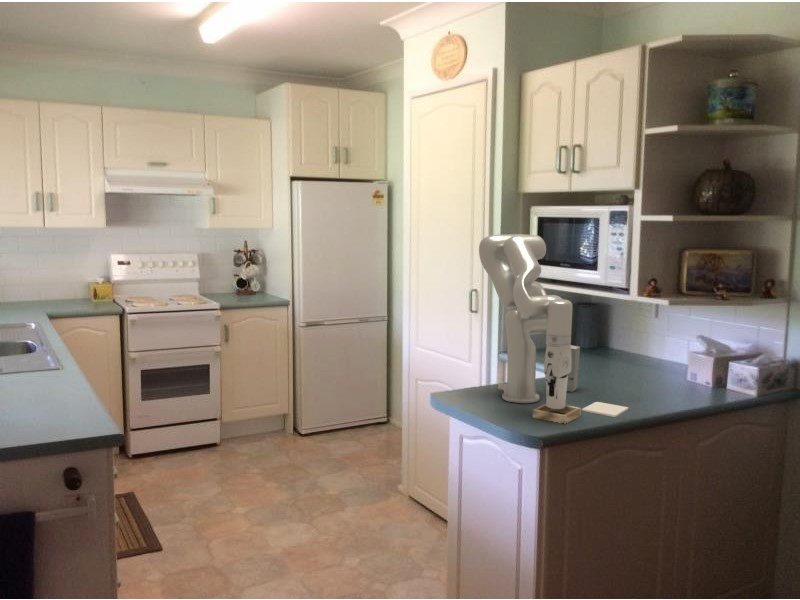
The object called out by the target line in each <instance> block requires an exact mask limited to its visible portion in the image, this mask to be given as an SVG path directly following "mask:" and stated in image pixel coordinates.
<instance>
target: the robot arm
mask: <svg viewBox="0 0 800 600" xmlns="http://www.w3.org/2000/svg"><path fill="white" fill-rule="evenodd" d="M478 247H479V248H478V254H479V255H478V256H479V260H480V263H481V265H482V267H483V269H484V270H485V272H486V274H487V275H488V276H489V278H490V280H491V282H492V284H493V288H494V289H495V291H496V294H497V296H498V299H499V301H500V303H501V305H502V307H504V309H508V311H507V312H506V314H505V315H504V316H505V317H504V324H505V330H506V338H507V339H506V341H507V362H506V363H507V364H506V365H507V367H506V370H507V372H506V383H504V382H499V383H498V384H497V390H501V391H503V392H502V394H501V395H502V396H501V397H502V399H503V400H505V402H506V401H507V402H509V403H514V404H533V403H536V402H538V401H540V397H541V396H540V395H539V394H538V393H537V392H536V376H537V375H536V371H537V370H536V369H537V363H536V362H537V347H536V345H535V343H534V341H533V340H532V338H531V335H541V334H542V335H543V334H545V344H546V348H545V354H544V363H543V364H544V366H543V372H544V373H543V374H544V381H545V382H546V381H547V385H548V386H549V396H551V397H553V396H554V387H556V380H557V378H565V375H567V374H569V373H570V372H571V365H572V357H571V345H572V344H571V343H572V342H571V341H572V323H573V321H572V320H573V303H572V301H571V300H568V299H563V298H562V297H561V296H559V295H556V294H548V293H547V292H546V290H545V288H544V286H543V285H542V284H541V283H540V282H539V281H536V280H537V279H538V278H539V277H540V276H541V273H542V267H541V265H540V263H539V262H538V260H541V259H543V258H544V257H545V255H546V254H547V253H546V252H547V245H546V242H545V240H544V239H543V238H542V237H541V236H539V235H537V234H525V233H524V234H523V233H512V234H511V233H509V234H491V235H487V236H485V237H483V238H482V239H481V241H480V242H479V246H478ZM503 259H507V261H508V263H507V262H506V261H505V260H503ZM551 374H553V375H554V376H551ZM551 378H554V380H553V379H551ZM547 397H548V395H547ZM556 399H557V395H556Z"/></svg>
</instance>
